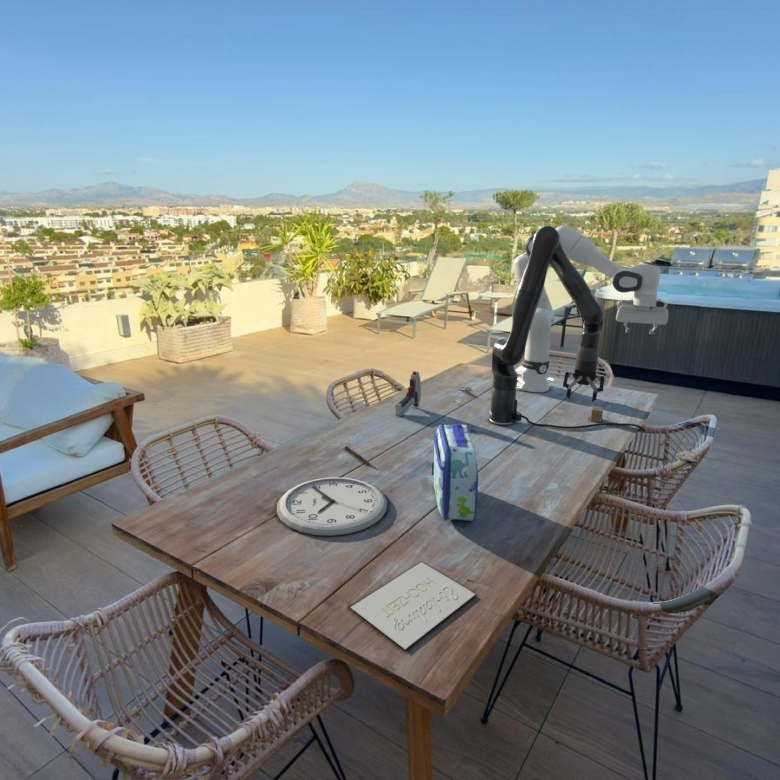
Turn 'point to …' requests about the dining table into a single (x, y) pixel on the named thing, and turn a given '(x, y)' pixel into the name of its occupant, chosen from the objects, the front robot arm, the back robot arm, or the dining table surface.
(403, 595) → the invitation card
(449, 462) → the lunch box
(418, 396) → the toy gun
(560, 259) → the front robot arm
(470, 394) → the fork
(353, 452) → the dark brown stick
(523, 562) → the dining table surface
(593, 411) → the block
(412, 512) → the dining table surface
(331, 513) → the wall clock
